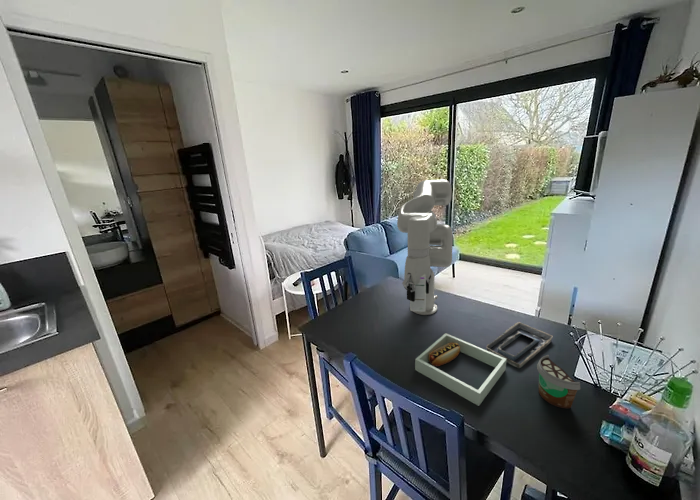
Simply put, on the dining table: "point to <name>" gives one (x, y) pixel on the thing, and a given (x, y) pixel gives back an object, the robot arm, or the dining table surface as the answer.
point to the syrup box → (419, 295)
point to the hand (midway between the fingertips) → (418, 296)
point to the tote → (454, 383)
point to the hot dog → (444, 354)
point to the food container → (556, 384)
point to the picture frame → (513, 337)
